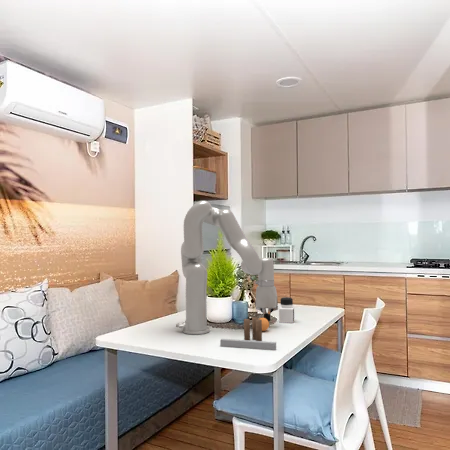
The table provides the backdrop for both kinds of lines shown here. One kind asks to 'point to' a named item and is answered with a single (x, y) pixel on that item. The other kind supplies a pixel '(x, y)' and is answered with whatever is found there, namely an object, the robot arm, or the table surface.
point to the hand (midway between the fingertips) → (267, 322)
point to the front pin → (254, 327)
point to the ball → (264, 324)
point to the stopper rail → (248, 344)
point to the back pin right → (258, 330)
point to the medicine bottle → (286, 310)
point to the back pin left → (246, 329)
